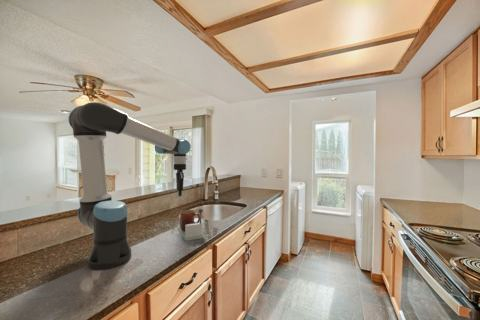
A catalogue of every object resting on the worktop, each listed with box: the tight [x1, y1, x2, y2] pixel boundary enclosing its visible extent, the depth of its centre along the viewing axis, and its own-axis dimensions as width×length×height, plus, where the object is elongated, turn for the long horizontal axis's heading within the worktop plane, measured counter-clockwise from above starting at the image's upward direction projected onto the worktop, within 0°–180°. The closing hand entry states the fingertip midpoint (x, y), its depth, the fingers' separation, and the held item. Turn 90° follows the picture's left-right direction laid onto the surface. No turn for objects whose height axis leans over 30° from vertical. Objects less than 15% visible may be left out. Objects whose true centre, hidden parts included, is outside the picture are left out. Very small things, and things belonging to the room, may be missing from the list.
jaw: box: [178, 214, 181, 226], centre depth 126 cm, size 8×8×6 cm
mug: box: [179, 209, 200, 231], centre depth 115 cm, size 12×9×10 cm
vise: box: [176, 208, 204, 242], centre depth 115 cm, size 10×22×15 cm, turn 27°
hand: (179, 200), depth 127 cm, fingers closed
